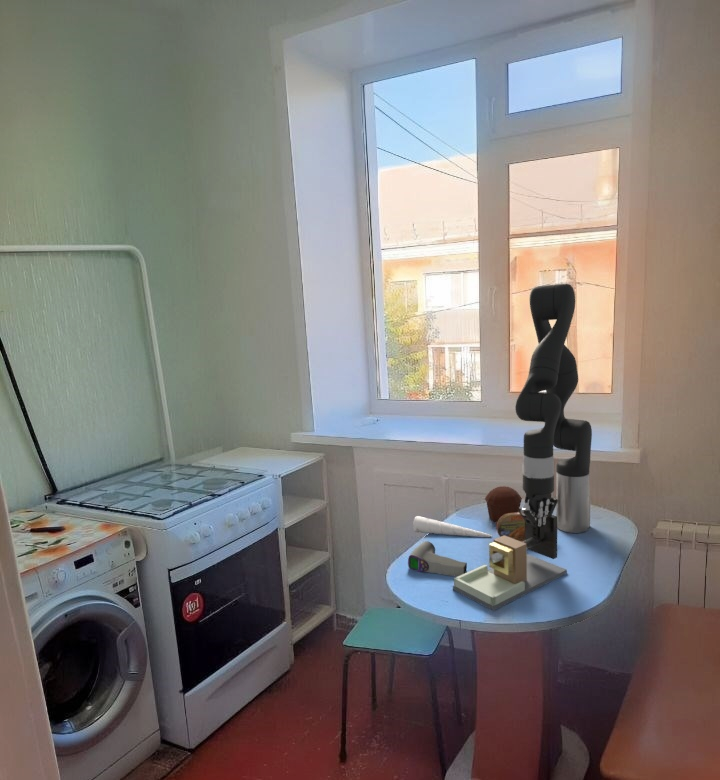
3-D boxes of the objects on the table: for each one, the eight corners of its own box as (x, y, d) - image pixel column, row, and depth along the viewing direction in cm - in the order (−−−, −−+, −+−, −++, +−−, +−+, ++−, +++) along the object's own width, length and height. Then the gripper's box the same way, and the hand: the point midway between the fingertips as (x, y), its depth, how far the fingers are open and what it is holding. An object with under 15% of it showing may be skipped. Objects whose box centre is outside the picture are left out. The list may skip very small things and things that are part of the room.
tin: (498, 544, 172) (498, 516, 171) (495, 539, 176) (495, 512, 174) (550, 540, 173) (550, 513, 172) (546, 536, 176) (546, 509, 175)
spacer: (494, 564, 151) (494, 541, 150) (513, 572, 146) (513, 549, 145) (489, 566, 150) (489, 544, 149) (508, 575, 145) (508, 552, 144)
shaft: (528, 546, 161) (528, 507, 159) (557, 557, 153) (557, 516, 152) (479, 568, 150) (478, 526, 148) (507, 581, 143) (507, 537, 141)
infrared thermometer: (462, 582, 154) (406, 571, 159) (472, 562, 165) (419, 552, 170) (463, 566, 153) (407, 555, 158) (473, 546, 164) (420, 537, 169)
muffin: (498, 509, 199) (497, 480, 197) (528, 516, 191) (528, 486, 190) (478, 520, 191) (477, 490, 189) (509, 528, 183) (509, 497, 181)
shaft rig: (525, 556, 164) (525, 519, 162) (566, 573, 153) (567, 534, 151) (452, 589, 148) (451, 549, 146) (493, 610, 137) (492, 567, 136)
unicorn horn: (490, 543, 174) (490, 527, 173) (411, 534, 183) (411, 519, 182) (493, 536, 178) (493, 521, 177) (416, 528, 187) (415, 513, 187)
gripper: (542, 463, 155) (542, 527, 158) (508, 474, 148) (508, 541, 150) (567, 470, 149) (567, 536, 152) (533, 481, 142) (533, 551, 144)
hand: (538, 538), depth 151 cm, fingers closed
